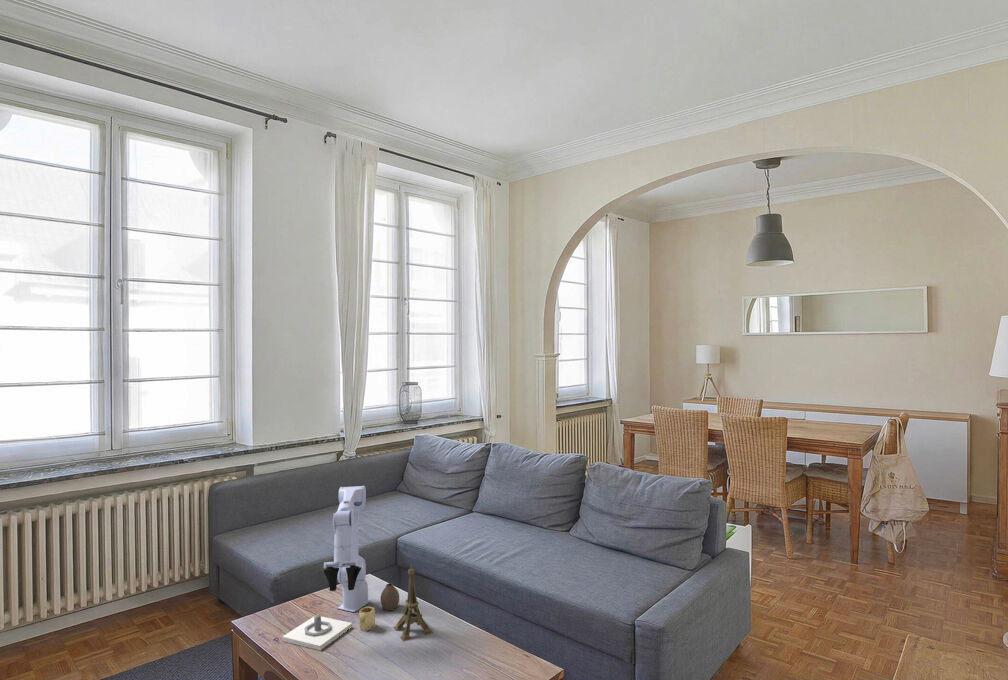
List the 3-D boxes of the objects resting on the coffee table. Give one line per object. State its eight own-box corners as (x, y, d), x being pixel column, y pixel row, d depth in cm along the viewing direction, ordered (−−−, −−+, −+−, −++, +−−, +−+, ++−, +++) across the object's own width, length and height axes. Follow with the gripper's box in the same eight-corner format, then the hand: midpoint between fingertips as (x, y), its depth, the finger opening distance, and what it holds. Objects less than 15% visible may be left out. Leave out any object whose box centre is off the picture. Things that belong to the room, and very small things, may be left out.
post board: (316, 619, 211) (315, 602, 211) (352, 627, 205) (351, 610, 205) (282, 641, 197) (281, 623, 197) (320, 650, 190) (319, 631, 190)
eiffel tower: (393, 627, 204) (391, 555, 204) (422, 620, 209) (420, 549, 209) (402, 641, 195) (400, 566, 194) (432, 633, 200) (430, 559, 199)
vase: (383, 614, 214) (383, 590, 214) (378, 606, 220) (377, 583, 220) (402, 609, 217) (401, 585, 217) (396, 602, 223) (395, 579, 223)
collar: (366, 622, 208) (365, 605, 208) (377, 625, 206) (377, 608, 206) (357, 629, 203) (356, 612, 203) (368, 632, 201) (368, 614, 201)
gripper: (318, 549, 200) (316, 592, 195) (352, 546, 194) (351, 590, 190) (332, 548, 206) (331, 590, 202) (365, 545, 200) (365, 588, 196)
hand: (342, 590), depth 196 cm, fingers open, 7 cm apart
